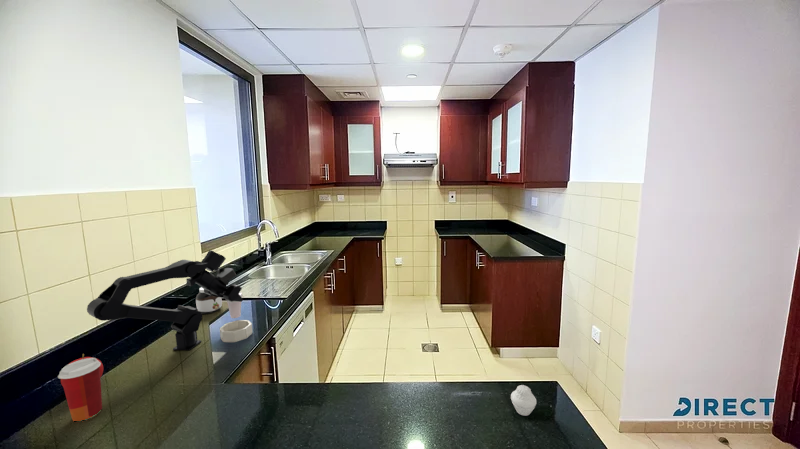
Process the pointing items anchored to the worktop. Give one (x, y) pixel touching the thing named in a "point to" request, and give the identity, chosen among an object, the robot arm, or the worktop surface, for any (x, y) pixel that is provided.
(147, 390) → the worktop surface
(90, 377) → the paper cup
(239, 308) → the smoothie
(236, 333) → the bowl
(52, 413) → the worktop surface
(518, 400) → the white rounded blob
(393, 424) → the worktop surface
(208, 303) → the spread jar
